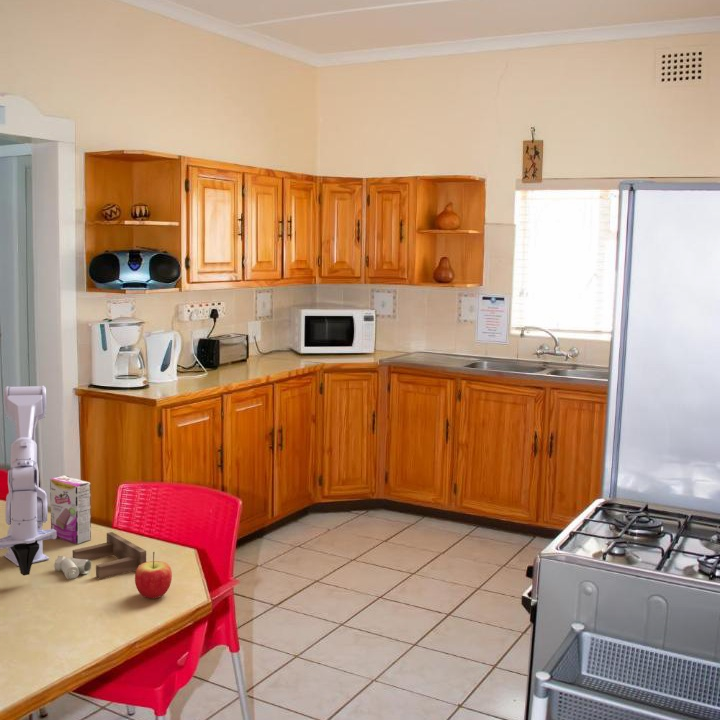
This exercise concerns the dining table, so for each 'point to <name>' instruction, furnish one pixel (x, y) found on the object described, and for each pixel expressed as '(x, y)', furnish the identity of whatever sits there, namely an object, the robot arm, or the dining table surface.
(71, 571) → the pipe fitting
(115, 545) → the fitting jig
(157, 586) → the apple
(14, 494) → the robot arm
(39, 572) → the dining table surface
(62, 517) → the candy bar box
